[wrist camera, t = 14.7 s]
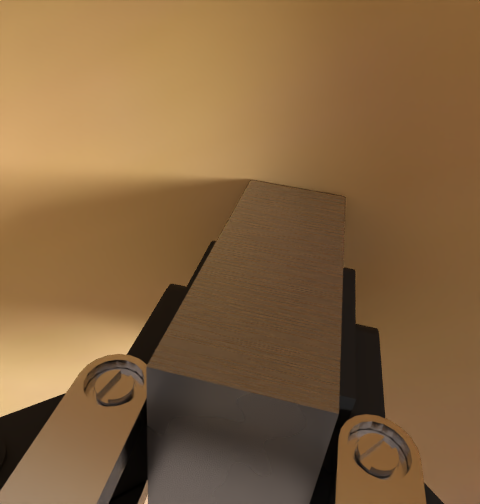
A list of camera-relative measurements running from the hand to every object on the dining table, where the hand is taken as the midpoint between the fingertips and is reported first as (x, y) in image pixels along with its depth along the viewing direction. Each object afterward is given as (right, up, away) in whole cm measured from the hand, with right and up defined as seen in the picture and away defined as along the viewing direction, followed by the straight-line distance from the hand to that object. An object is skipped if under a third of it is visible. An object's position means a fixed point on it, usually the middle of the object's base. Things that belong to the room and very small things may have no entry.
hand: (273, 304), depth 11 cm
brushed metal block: (0, +1, +2) cm, 2 cm away
